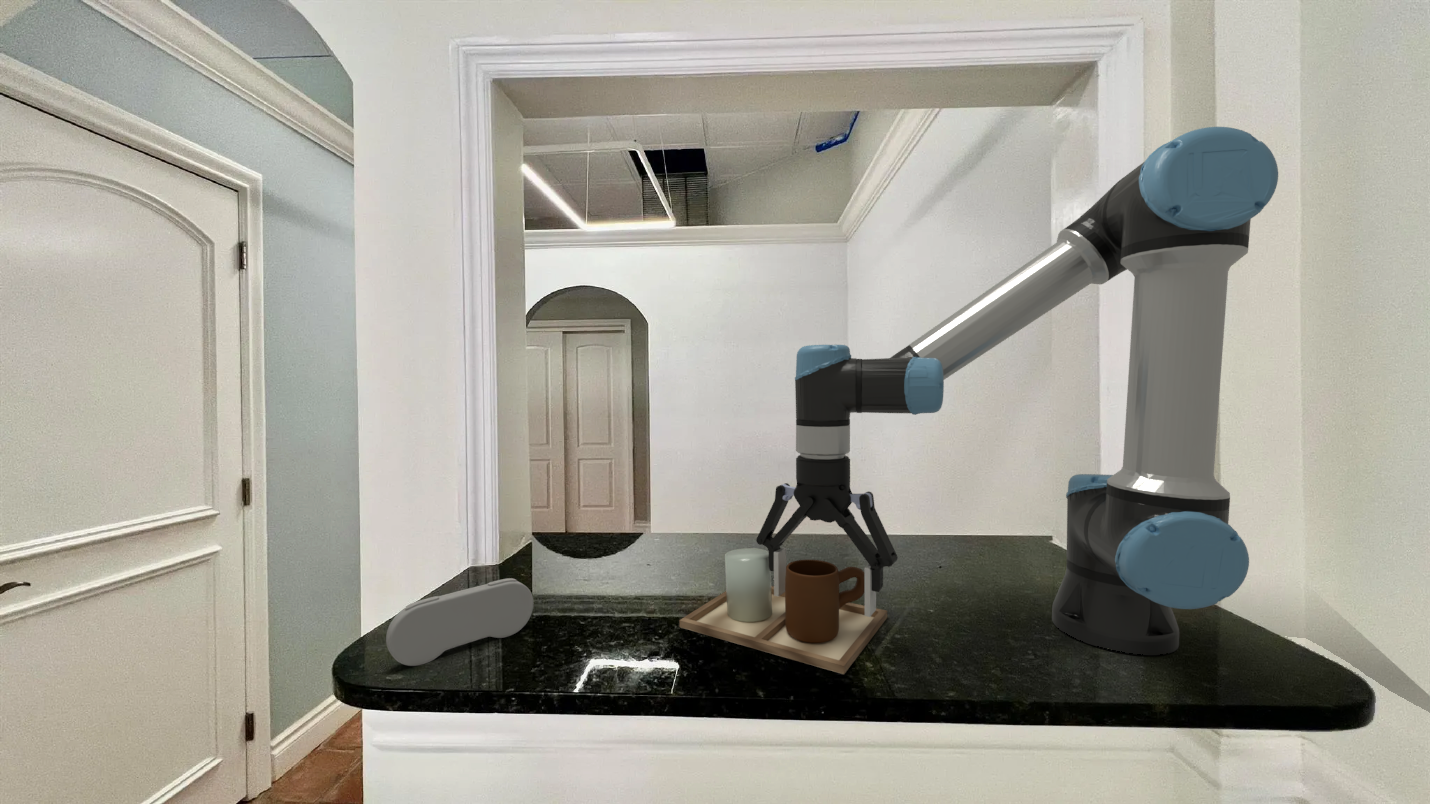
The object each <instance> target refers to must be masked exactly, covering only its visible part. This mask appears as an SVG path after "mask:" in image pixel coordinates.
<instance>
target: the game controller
mask: <svg viewBox="0 0 1430 804" xmlns="http://www.w3.org/2000/svg"><path fill="white" fill-rule="evenodd" d="M533 610H534V596H533V594H532V592H531V590H530V589H529V588H528V587H527V586H526V585H525V584H523V583H522V582H520V581H518V580H517V579H515V578H512V577H511V578H510V577H509V578H507V577H506V578H503V579H498V580H494V581H490V582H488V583H485V584H481V585H478V586H474V587H469V588H466V589H462V590H457V591H454V592H450V593H446V594H442V595H435V596H431V597H427V598H424V599H420V600H417V601H414V602H411V603H409V604H408V605H406V607H404V608H402V609H401V610H400V611H399V612H397V614H396V615H395V616H394V617H393V619H392V621H391V622H390V623H389V625H388V627H387V630H386V637H385V643H386V647H387V650H388V652H389V653H390V655H391V656H392V658H393V659H394V660H395V661H396V662H398V663H399V664H402V665H404V666H408V667H417V666H423V665H424V664H428V663H430V662H432V661H434V660H435V659H437V658H438V657H439V656H441V655H442V654H443V653H444V652H445V651H448V650H451V649H453V648H456V647H460V646H463V645H466V644H468V643H469V644H470V643H472V642H475V641H480V640H482V639H484V638H485V639H486V638H488V637H492V638H495V639H496V638H497V639H502V638H508V637H510V636H513V635H514V634H516V633H518V632H520V630H522V629H523V628H524V627H525V626H526V624H527V623H528V621H529V620H530V618H531V616H532V614H533Z"/></svg>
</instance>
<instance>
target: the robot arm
mask: <svg viewBox="0 0 1430 804" xmlns="http://www.w3.org/2000/svg"><path fill="white" fill-rule="evenodd" d="M1278 182H1279V169H1278V164H1277V160H1276V158H1275V155H1274V154H1273V152H1272V150H1271V149H1270V147H1268V145H1267V144H1266V143H1265V142H1264V141H1261V140H1258V139H1257V138H1256V137H1254V135H1253V134H1251V133H1249V132H1247V131H1245V130H1242V129H1239V128H1235V127H1234V128H1233V127H1229V126H1210V127H1209V126H1208V127H1200V128H1198V129H1194V130H1190V131H1188V132H1185V133H1182V134H1181V135H1179V136H1177V137H1175V138H1174V139H1172V140H1170V141H1168V142H1166V143H1164V144H1162V145H1160V146H1158V147H1157V148H1156V149H1155V150H1154V151H1153V152H1152V153H1150V154H1149V155H1148V157H1147V158H1146V159H1145V161H1143V162H1142V163H1140V164H1139V165H1138V166H1136V167H1135V168H1134V169H1132V170H1131V171H1130V172H1128V173H1127V174H1126V175H1124V176H1123V177H1122V178H1121V179H1119V181H1117V182H1116V183H1114V185H1113V186H1112V187H1111V188H1110V189H1109V190H1108V191H1106V193H1105V194H1103V196H1102V197H1100V199H1098V200H1097V201H1096V202H1095V203H1094V204H1093V205H1092V206H1091V207H1090V208H1088V209H1087V210H1086V211H1085V212H1084V213H1083V214H1081V216H1080V217H1078V218H1077V219H1075V220H1074V221H1073V222H1072V223H1070V224H1069V225H1068V226H1066V227H1065V228H1063V229H1061V230H1060V231H1059V232H1058V235H1057V239H1056V242H1055V243H1054V244H1052V245H1051V246H1050V247H1048V248H1046V249H1045V250H1044V251H1042V252H1040V253H1039V254H1038V255H1036V256H1035V257H1034V258H1032V259H1031V260H1029V261H1028V262H1026V263H1025V264H1023V265H1022V266H1021V267H1019V268H1018V269H1016V270H1014V272H1012V273H1010V274H1009V275H1007V276H1006V277H1004V278H1003V279H1002V280H1000V281H998V283H996V284H995V285H994V286H992V287H990V288H989V289H988V290H986V291H985V292H983V293H982V294H980V295H979V296H977V297H976V298H974V299H973V300H972V301H970V302H969V303H967V304H965V305H964V306H962V308H960V309H959V310H956V311H955V312H954V313H952V314H951V315H950V316H949V317H947V318H945V319H944V320H942V321H941V322H940V323H939V324H937V325H936V326H934V327H933V328H931V329H930V330H928V331H927V332H925V333H923V334H922V335H921V336H920V337H918V338H917V339H915V340H914V341H912V342H910V343H909V344H908V345H907V346H905V347H904V348H902V349H901V350H899V351H897V353H895V354H893V355H892V356H891V357H889V358H886V357H885V358H867V359H866V358H865V359H862V358H854V357H853V358H852V354H851V349H850V347H849V346H848V345H845V344H812V345H810V344H809V345H804V346H801V347H800V348H799V349H798V350H797V353H796V363H795V377H794V384H795V385H794V386H795V387H794V388H795V418H796V419H795V451H796V452H797V453H798V454H800V455H798V456H796V458H795V479H796V485H795V486H791V485H790V484H789V483H788V482H787V483H783V484H781V485H777V486H776V488H775V495H774V501H773V503H772V505H771V507H770V510H769V512H768V513H767V516H766V518H765V521H764V522H763V525H762V527H761V529H760V530H759V533H758V536H757V537H756V543H757V545H761V546H764V547H765V548H767V551H768V552H769V569H770V571H771V572H773V586H774V596H778V597H779V596H780V595H781V594H783V593H784V592H785V576H786V566H787V548H786V547H781V546H783V544H784V543H785V541H786V540H787V539H788V538H789V537H790V536H791V535H792V533H794V532H795V530H796V529H797V528H798V527H799V526H800V524H801V523H802V522H803V521H805V519H806V518H809V520H810V521H822V522H825V523H833V522H836V524H837V525H838V527H839V528H840V529H841V528H842V529H843V531H844V532H845V533H846V535H847V536H848V538H849V539H850V541H852V543H853V544H854V546H855V547H856V549H857V550H858V551H859V553H860V554H861V555H862V557H863V558H864V559H865V561H866V562H867V563H868V565H866V567H864V573H865V593H864V606H865V616H867V617H871V615H872V614H873V613H874V612H875V611H876V608H877V593H879V592H880V591H882V589H883V586H884V568H885V567H892V566H893V565H894V564H895V563H896V562H897V560H898V559H899V558H898V557H899V556H898V555H897V552H896V551H895V549H894V546H893V544H892V542H891V540H890V538H889V536H888V533H887V531H886V529H885V527H884V524H883V522H882V521H881V517H880V516H879V514H878V511H877V510H876V508H875V500H874V499H875V498H874V494H873V492H872V491H866V492H864V493H853V492H852V490H851V458H850V457H849V456H847V454H849V453H850V451H851V419H850V418H851V414H853V413H856V414H863V413H870V414H873V413H874V414H912V415H918V414H935V413H939V411H940V410H941V409H942V407H943V402H944V392H945V391H944V389H945V384H944V380H946V379H947V378H949V377H950V376H953V375H954V374H955V373H957V372H958V371H960V370H962V368H965V366H968V365H969V364H971V363H972V362H973V361H975V360H977V359H978V358H980V357H981V356H984V354H986V353H987V352H988V351H991V350H992V349H993V348H995V347H996V346H998V345H999V344H1001V343H1003V342H1004V341H1006V340H1007V339H1009V338H1010V337H1012V336H1014V335H1015V334H1017V333H1018V332H1019V331H1021V330H1023V329H1024V328H1025V327H1027V326H1028V325H1030V324H1032V323H1033V322H1035V321H1036V320H1038V319H1039V318H1041V317H1042V316H1044V315H1045V314H1046V313H1048V312H1049V311H1052V310H1053V309H1054V308H1056V307H1058V306H1059V305H1060V304H1062V303H1064V302H1065V301H1066V300H1068V299H1069V298H1071V297H1073V296H1074V295H1076V294H1077V293H1079V292H1080V291H1082V290H1083V289H1085V288H1086V287H1089V285H1104V284H1106V283H1107V282H1109V281H1110V280H1111V279H1113V278H1115V277H1116V276H1118V275H1120V274H1121V273H1123V272H1125V271H1129V272H1130V273H1131V274H1132V275H1133V276H1134V280H1133V297H1132V313H1131V327H1130V328H1131V329H1130V342H1129V343H1130V344H1129V347H1130V348H1129V362H1128V363H1129V364H1128V376H1127V377H1128V378H1127V391H1126V393H1127V394H1126V408H1125V412H1126V413H1125V424H1124V425H1125V426H1124V427H1125V428H1124V441H1123V443H1124V444H1123V458H1122V467H1121V469H1120V470H1118V471H1117V472H1116V473H1114V474H1101V473H1100V474H1099V473H1098V474H1097V473H1096V474H1095V473H1094V474H1093V473H1090V474H1089V473H1088V474H1087V473H1083V474H1082V473H1080V474H1079V473H1078V474H1077V473H1076V474H1074V475H1072V476H1071V477H1070V478H1069V480H1068V485H1067V492H1066V494H1065V498H1066V499H1067V501H1066V503H1067V504H1066V505H1067V506H1066V507H1067V509H1066V510H1067V511H1066V513H1067V514H1066V515H1067V516H1066V565H1065V566H1066V567H1065V568H1066V570H1065V574H1064V576H1063V578H1062V580H1061V584H1060V586H1059V588H1058V591H1057V593H1056V595H1055V597H1054V600H1053V602H1052V607H1051V608H1052V609H1051V611H1052V612H1051V621H1052V623H1053V625H1054V626H1055V627H1056V628H1057V629H1058V628H1059V629H1058V630H1059V631H1061V632H1063V633H1064V632H1065V633H1064V634H1066V633H1067V634H1068V636H1069V635H1070V636H1069V637H1071V636H1072V638H1073V637H1074V639H1075V638H1076V639H1075V640H1078V641H1080V640H1081V641H1080V642H1082V641H1083V642H1082V643H1084V644H1087V645H1091V646H1094V647H1097V646H1099V647H1098V648H1100V647H1103V648H1102V649H1104V648H1109V649H1112V650H1116V651H1115V652H1117V651H1120V652H1119V653H1122V652H1125V653H1124V654H1129V653H1133V654H1132V655H1137V654H1141V655H1140V656H1161V655H1160V654H1163V655H1167V654H1166V653H1168V654H1171V653H1173V652H1176V651H1177V650H1178V649H1179V648H1180V647H1179V646H1180V628H1179V625H1178V623H1177V619H1176V616H1175V614H1174V610H1173V609H1178V610H1197V609H1203V608H1208V607H1210V606H1211V607H1212V606H1214V605H1217V604H1218V603H1219V602H1221V601H1223V600H1225V599H1226V598H1230V597H1231V596H1232V595H1233V594H1235V593H1236V592H1237V591H1238V590H1239V588H1240V587H1242V584H1243V583H1244V581H1245V580H1246V577H1247V574H1248V572H1249V567H1250V557H1249V552H1248V548H1247V545H1246V544H1245V542H1244V540H1243V539H1242V537H1241V536H1240V535H1239V534H1238V532H1237V531H1236V530H1235V528H1233V526H1231V524H1229V521H1230V519H1229V518H1230V504H1231V503H1230V502H1231V495H1230V494H1231V493H1230V491H1229V490H1227V489H1226V488H1225V487H1224V486H1222V485H1221V483H1220V482H1218V481H1217V479H1216V478H1215V463H1216V447H1217V433H1218V432H1217V431H1218V420H1219V419H1218V418H1219V408H1220V407H1219V405H1220V393H1221V392H1220V391H1221V378H1222V377H1221V376H1222V375H1221V374H1222V362H1223V351H1224V349H1223V348H1224V336H1225V335H1224V334H1225V321H1226V318H1225V317H1226V310H1227V308H1226V307H1227V292H1228V280H1229V279H1228V278H1229V277H1228V276H1229V271H1230V269H1231V267H1232V266H1233V265H1234V264H1236V263H1237V262H1238V261H1240V260H1241V259H1242V258H1243V257H1244V256H1246V255H1247V254H1248V253H1249V246H1250V245H1249V244H1250V243H1249V242H1250V235H1251V234H1250V232H1251V231H1250V230H1251V221H1252V219H1253V218H1254V217H1256V216H1257V215H1258V214H1260V213H1261V212H1262V210H1263V209H1264V208H1265V207H1266V206H1267V204H1269V202H1270V201H1271V199H1272V197H1273V196H1274V194H1275V192H1276V189H1277V185H1278ZM793 497H794V499H795V501H796V502H797V503H798V505H799V507H797V509H796V510H795V511H794V512H793V513H792V515H791V517H790V518H789V519H788V520H787V521H786V522H785V523H784V524H783V525H782V527H781V528H780V529H779V530H778V532H776V534H775V535H774V532H775V530H776V528H777V527H778V525H779V522H780V520H781V518H782V516H783V513H784V512H785V509H786V507H787V505H788V503H789V501H791V500H792V499H793ZM852 503H853V504H854V505H855V506H856V509H858V510H860V513H861V517H862V518H863V521H864V524H865V526H866V528H867V530H868V532H869V534H870V536H871V539H872V541H873V542H872V541H871V539H870V537H868V535H867V533H865V531H864V530H863V529H862V527H861V526H860V525H859V523H858V521H856V517H855V516H854V514H853V512H851V510H850V509H849V507H850V506H851V504H852ZM773 535H774V537H773ZM1067 634H1066V635H1067ZM1112 650H1111V651H1112ZM1121 651H1122V652H1121ZM1142 654H1143V655H1142Z"/></svg>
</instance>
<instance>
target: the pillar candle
mask: <svg viewBox="0 0 1430 804" xmlns="http://www.w3.org/2000/svg"><path fill="white" fill-rule="evenodd" d="M724 564H725V565H724V566H725V568H724V569H725V571H724V572H725V588H726V590H725V591H726V596H727V614H728V616H729V617H730V618H732V619H734V620H738V621H744V622H754V621H760V620H764V619H767V618H768V617H770V616H771V615H772V589H771V586H772V571H770V569H769V551H768V550H766V549H761V548H755V547H750V548H749V547H745V548H737V549H736V548H735V549H732V550H729V551H727V552H726V553H725V554H724Z"/></svg>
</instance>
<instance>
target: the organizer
mask: <svg viewBox="0 0 1430 804" xmlns="http://www.w3.org/2000/svg"><path fill="white" fill-rule="evenodd" d="M771 589H772V615H771V616H770V617H768V618H767V619H764V620H760V621H754V622H744V621H738V620H734V619H732V618H730V617H729V616H728V614H727V596H726V590H725V591H724V592H722V593H721V594H718V595H717V596H716V597H714V598H713V599H711V600H709V601H708V602H706V603H704V604H703V605H701V606H700V607H697V609H695V610H693V611H692V612H690V613H689V614H687V615H686V616H684V617H682V618H680V619H679V620H678V621H679V628H681V629H685V630H689V631H692V632H695V633H698V634H702V635H704V636H705V635H706V636H709V637H713V638H716V639H720V640H723V641H726V642H730V643H734V644H737V645H741V646H744V647H747V648H751V649H754V650H758V651H761V652H765V653H769V654H772V655H775V656H779V657H781V658H786V659H788V660H792V661H796V662H799V663H804V664H805V665H811V666H814V667H817V668H820V669H824V670H827V671H832V672H834V673H838V674H841V675H845V674H846V673H847V671H849V668H850V667H851V666H852V664H854V662H855V661H856V660H857V658H858V657H859V656H860V654H861V653H862V651H863V650H864V649H865V648H866V646H867V645H868V644H869V642H870V641H871V640H872V639H873V637H874V635H875V634H876V633H877V632H878V631H879V629H880V628H881V626H882V625H883V624H884V623H885V621H886V620H887V619H888V610H885V609H882V608H877V607H876V611H875V612H874V613H873V614H872V615H871V617H867V616H865V605H863V604H858V603H853V602H849V603H846V604H845V605H844V606H842V607H841V608H840V609H839V631H838V634H837V636H836V637H835V638H834V639H832V640H830V641H828V642H823V643H808V642H803V641H800V640H797V639H795V638H793V637H792V636H791V635H789V633H788V632H787V630H786V623H785V592H784V593H783V594H781V595H780V596H779V597H778V596H774V585H771Z"/></svg>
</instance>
